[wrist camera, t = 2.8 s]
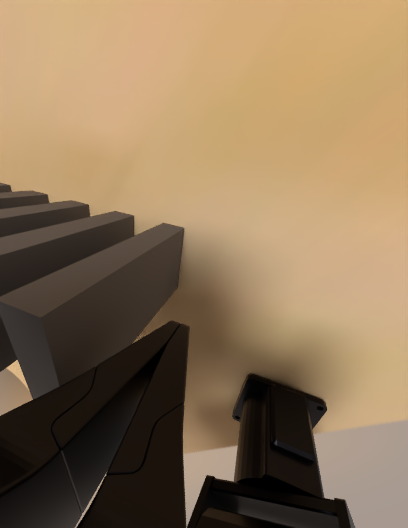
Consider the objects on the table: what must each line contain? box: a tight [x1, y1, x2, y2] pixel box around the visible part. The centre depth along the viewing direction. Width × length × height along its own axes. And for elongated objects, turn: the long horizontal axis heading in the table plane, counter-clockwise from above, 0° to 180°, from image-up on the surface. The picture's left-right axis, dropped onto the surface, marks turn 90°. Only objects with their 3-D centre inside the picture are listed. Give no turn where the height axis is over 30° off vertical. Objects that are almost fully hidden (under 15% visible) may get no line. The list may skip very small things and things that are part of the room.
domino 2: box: [0, 211, 134, 372], centre depth 11 cm, size 5×2×10 cm, turn 170°
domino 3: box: [0, 223, 184, 399], centre depth 11 cm, size 5×2×10 cm, turn 170°
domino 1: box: [0, 200, 90, 237], centre depth 12 cm, size 5×2×10 cm, turn 170°
